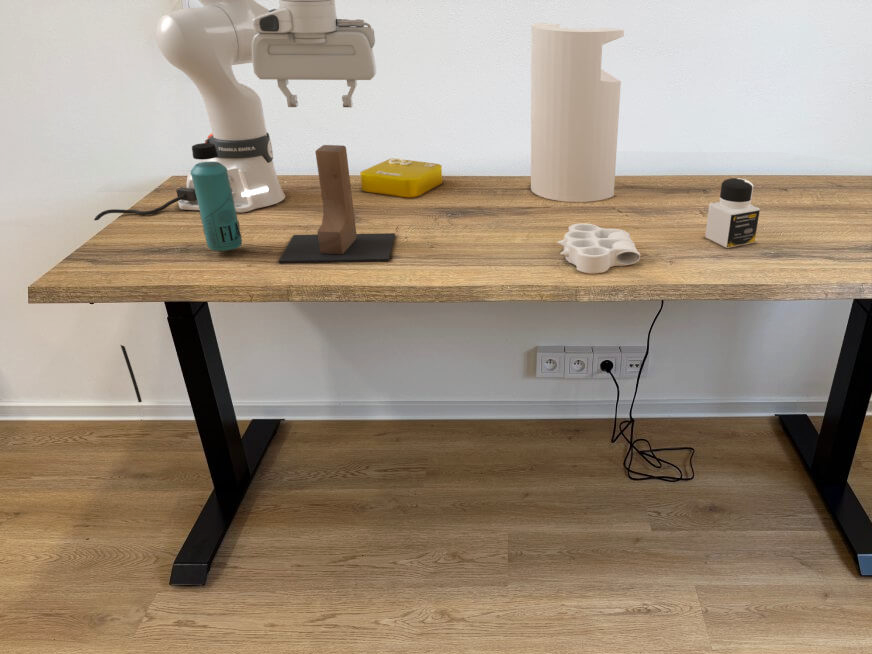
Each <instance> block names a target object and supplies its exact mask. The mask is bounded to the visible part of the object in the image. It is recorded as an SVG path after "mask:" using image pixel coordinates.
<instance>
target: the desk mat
mask: <svg viewBox="0 0 872 654" xmlns="http://www.w3.org/2000/svg"><path fill="white" fill-rule="evenodd" d="M356 234H357V239H356V240H355V241H354V242H353V243H352V244H351V246H350V247H349V248H348V249H347V250H346V251H345V252H344V253H343V254H323V253H321V252H320V247H319V240H318V234H293V235H292V237H291V239H290V241H289V242H288V244H287V245H286V247H285V249H284V251H283V253H282V254H281V256H280V258H279V259H278V263H279V264H313V263H315V264H316V263H317V264H319V263H365V262H366V263H371V262H374V263H375V262H389V261H390V257H391V253H392V249H393V245H394V241H395V238H396V233H394V232H393V233H392V232H391V233H389V232H388V233H387V232H386V233H385V232H383V233H356Z"/></svg>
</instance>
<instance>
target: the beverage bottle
mask: <svg viewBox="0 0 872 654" xmlns="http://www.w3.org/2000/svg"><path fill="white" fill-rule="evenodd" d="M191 151H192V158H193V159H195V160H200V162H201V161H202V160H203V159H212V158H215V157H217V156H218V153H217V151H216V147H215V145H214V144H212V143H205V142H202V143H196V144H193V145H192V146H191ZM189 173H191V176H192V180H193V184H194V188H195V193H196V197H197V201H198V205H199V210H198V212H199V217H200V221H201V225H202V230H203V235H204V237H203V238H205V243H206V246H207V247H208V249H209V250H212V251H216V252H224V251H231V250H235V249H238V248H240V247H241V246H242V244H243V238H242V233H241V232H242V231H241V230H242V229H241V228H240V227H241V226H240V222H239V221H240V220H239V219H238V212H236V209H235V206H234V203H235V202H234V201H233V199H234V198H233V195H232V191H231V190H232V187H231V186H230V182H229V178H228V173H227V168H226V167H225V166H223V165H222V164H221V163H219V162H213V161H209V162H201V163H199V162H198V163H196V164H195V165H194V166H193V167H192V169H191V170H190V172H189Z"/></svg>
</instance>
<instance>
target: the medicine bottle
mask: <svg viewBox="0 0 872 654" xmlns="http://www.w3.org/2000/svg"><path fill="white" fill-rule="evenodd" d="M720 185H721V186H720V194H719V201H716V202H710V203H709V205H708V210H707V218H706V227H705V233H704V237H705V239H707V240H709V241H711V242H713V243H716V244H717V245H720V246H721V247H723V248H725V249H731V248H735V247H739V246H740V247H741V246H747V245H753V244H754V243H756V236H757V231H758V230H757V228H758V223H759V218H760V213H761V212H760V211H761V209H760V207H757V206H755V205H753V204H751V203H752V199H753V192H754V186H755V185H754V184H753V182H752V181H750V180H748V179H745V178H739V177H731V178H727V179H725V180H723V181H722V182H721V184H720Z"/></svg>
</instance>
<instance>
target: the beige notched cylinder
mask: <svg viewBox="0 0 872 654" xmlns="http://www.w3.org/2000/svg"><path fill="white" fill-rule="evenodd" d="M624 34H625V29H620V28H609V27H608V28H607V27H599V28H598V27H597V28H568V27H561V26H560V24H558V23H549V22H547V23H546V22H536V23H533V24H531V36H530V37H531V38H530V39H531V41H530V42H531V47H530V50H531V51H530V52H531V55H530V57H531V59H530V60H531V64H530V67H531V68H530V70H531V71H530V77H531V78H530V80H531V81H530V92H531V93H530V103H531V104H530V107H531V108H530V191H531V192H532V193H533V194H535V196H538V197H541V198H544V199H546V200H547V199H548V200H551V201H552V200H553V201H557V202H558V201H559V202H567V203H568V202H570V203H586V202H587V203H588V202H598V201H603V200H607V199H610V198H612V197H614V195H615V183H616V182H615V181H616V166H617V151H618V150H617V149H618V134H619V133H618V132H619V118H620V117H619V116H620V101H621V83H622V82H621V81H622V80H619V79H618V78H617V77H616V76H613V75H612V74H610V73H608V72H607V71H606V70H604V69H602V59H603V46H604V45H606V44H609V43H610V42H613V41H615V40H618V39H621V38H623V37H624Z"/></svg>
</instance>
